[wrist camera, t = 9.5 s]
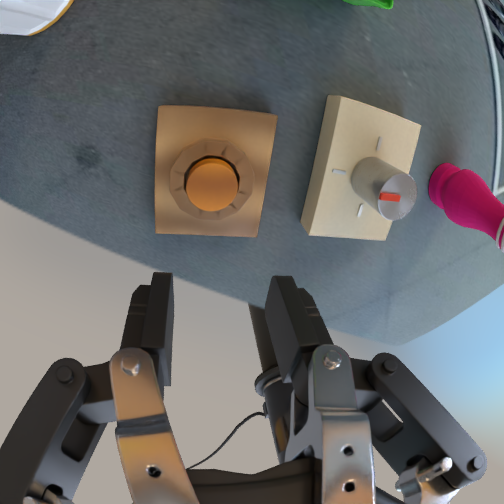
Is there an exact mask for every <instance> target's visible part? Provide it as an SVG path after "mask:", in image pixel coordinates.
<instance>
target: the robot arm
mask: <svg viewBox="0 0 504 504" xmlns="http://www.w3.org/2000/svg"><path fill="white" fill-rule="evenodd" d="M265 317H266V321H267V325H268V329H269V332H270V336H271V340H272V344H273V348H274V351H275V355H276V359H277V363H278V367H279V370H280V375H277V376H275V377H273V378H271V379H269V380H268V381H266V382H265V383H264V385H263V387H262V390H263V395H264V397H265V402H264V404H263V410H264V413H262V412H256V413H253V414H251V415H250V416H248V417H247V418H245V419H244V420H243V421H242V422H241V423H239V424H238V425H237V426H236V427H235V429H234V430H233V431H232V433H231V434H230V435H229V436H228V437H227V439H226V440H225V441H224V442H223V443H222V445H221V446H220V447H219V448H218V449H217V450H216V451H215V452H213V453H212V454H211V455H210V456H208V457H207V458H206V459H204V460H203V461H201V462H199V463H197V464H195V465H193V466H191V467H190V468H193V467H195V466H197V465H199V464H201V463H202V462H204V461H206V460H207V459H209V458H210V457H212V456H213V455H214V454H215V453H217V452H218V451H219V450H220V449H221V448H222V447H223V446H224V444H225V443H226V442H227V441H228V440H229V439H230V438H231V437H232V436H233V434H234V433H235V432H236V430H237V429H238V428H239V427H240V426H241V425H243V424H244V423H245V422H246V421H247V420H249V419H250V418H251V417H254V416H256V415H262V416H265V418H269V420H270V425H271V429H272V434H273V438H274V443H275V447H276V452H277V456H278V460H279V465H277V466H275V467H272V468H270V469H267V470H264V471H262V472H259V473H256V474H243V473H235V472H228V471H222V470H217V469H190V468H187V469H185V466H184V464H183V461H182V458H181V455H180V453H179V450H178V447H177V444H176V442H175V439H174V435H173V432H172V429H171V426H170V423H169V420H168V416H167V413H166V410H165V406H164V403H163V400H164V386H171V361H172V338H173V323H174V293H173V274H172V273H164V272H154V273H153V277H152V281H151V285H140V286H139V287H138V288H137V289H136V290H135V291H134V293H133V294H132V298H131V302H130V306H129V310H128V315H127V319H126V324H125V328H124V333H123V337H122V342H121V347H120V350H119V351H117V352H116V353H115V354H114V355H113V356H112V358H111V360H110V361H108V362H105V363H103V364H98V365H93V366H87V367H83V366H82V364H81V363H80V362H78V361H77V360H75V359H72V358H63V359H60V360H58V361H56V362H54V363H53V364H52V365H51V367H50V368H49V369H48V371H47V372H46V374H45V375H44V377H43V378H42V380H41V381H40V383H39V384H38V386H37V387H36V389H35V390H34V392H33V394H32V395H31V397H30V398H29V400H28V401H27V403H26V405H25V406H24V408H23V409H22V411H21V413H20V414H19V416H18V418H17V419H16V421H15V423H14V424H13V426H12V428H11V430H10V432H9V433H8V435H7V437H6V439H5V441H4V443H3V444H2V446H1V448H0V504H74V503H73V502H72V499H73V496H74V494H75V492H76V489H77V487H78V485H79V483H80V480H81V478H82V476H83V473H84V471H85V469H86V467H87V465H88V463H89V461H90V458H91V456H92V454H93V452H94V450H95V448H96V446H97V444H98V442H99V440H100V437H101V435H102V433H103V431H104V429H105V427H106V425H107V423H108V422H113V421H117V427H116V429H115V436H116V442H117V446H118V451H119V455H120V459H121V463H122V466H123V470H124V474H125V478H126V481H127V484H128V488H129V490H130V494H131V497H132V500H133V504H449V502H450V501H451V500H452V498H453V497H454V496H455V494H456V493H457V491H458V490H459V489H460V488H462V487H464V486H467V485H468V484H471V483H473V482H475V481H477V480H479V479H480V478H481V477H482V476H483V475H484V473H485V471H486V467H487V459H486V456H485V454H484V452H483V451H482V450H481V448H480V447H479V446H478V445H477V444H476V443H475V442H474V440H473V439H472V438H471V437H470V436H469V435H468V433H467V432H466V431H465V430H464V429H463V428H462V427H461V426H460V424H459V423H458V422H457V421H456V420H455V419H454V418H453V417H452V416H451V414H450V413H449V412H448V411H447V410H446V409H445V408H444V407H443V406H442V405H441V404H440V402H438V400H437V399H436V398H435V397H434V396H433V395H432V394H431V393H430V392H429V390H428V389H427V388H426V387H425V386H424V385H423V384H422V383H421V382H420V381H419V380H418V379H417V378H416V377H415V376H414V374H413V373H412V372H411V371H410V370H409V369H408V368H407V367H406V366H405V365H404V364H403V363H402V362H401V361H400V360H399V359H398V358H397V357H396V356H394V355H392V354H389V353H380V354H377V355H376V356H375V357H374V358H373V359H372V361H367V360H360V359H354V358H350V357H349V355H348V354H347V353H346V352H345V350H343V349H342V348H340V347H338V346H336V345H334V344H333V342H332V340H331V338H330V335H329V333H328V330H327V328H326V326H325V324H324V322H323V319H322V317H321V316H320V313H319V311H318V308H316V304H315V302H314V300H313V298H312V296H311V295H310V294H309V293H308V292H307V291H306V290H305V289H304V288H297V286H296V284H295V282H294V279H293V277H292V276H273V277H272V279H271V283H270V287H269V291H268V295H267V299H266V304H265ZM383 399H384V400H385V401H386V402H387V403H388V405H389V406H390V407H391V408H392V409H393V410H394V412H395V413H396V414H397V415H398V416H399V417H400V418H401V420H402V421H403V423H402V422H400V421H399V420H398V419H397V418H396V417H395V416H394V415H393V413H392V412H391V411H390V410H389V409H388V408H387V407H386V405H385V404H384V403H383V402H382V400H383ZM372 445H373V446H374V447H375V448H376V450H377V451H378V452H379V453H380V454H381V456H382V457H383V458H384V459H385V460H386V461H387V463H388V464H389V465H390V466H391V467H392V469H393V470H394V471H395V472H396V473H397V474H398V476H399V480H398V481H397V482H396V484H395V488H396V490H397V491H401V492H402V493H403V496H404V502H403V501H401V500H399V499H397V498H395V497H393V496H392V495H390V494H388V493H386V492H385V491H383V490H381V489H380V488H378V487H376V486H375V472H374V461H373V449H372Z"/></svg>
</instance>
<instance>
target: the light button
mask: <svg viewBox="0 0 504 504" xmlns="http://www.w3.org/2000/svg"><path fill="white" fill-rule="evenodd" d="M237 190H238V183H237V179H236V176H235V173H234V171H233V169H232V167H231V166H230V165H229V164H228V163H227V162H225V161H223V160H221V159H217V158H207V159H204V160H201V161H199V162H198V163H196V164H195V165H194V166H193V167H192V169H191V170H190V172H189V174H188V178H187V184H186V192H187V196H188V198H189V200H190V201H191V202H192V204H194V205H195V206H196V207H197V208H199V209H202V210H205V211H218V210H221V209H223V208H225V207H227V206H228V205H229V204H231V202H232V201H233V200H234V199H235V197H236V194H237Z"/></svg>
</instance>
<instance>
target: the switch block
mask: <svg viewBox="0 0 504 504" xmlns="http://www.w3.org/2000/svg"><path fill="white" fill-rule="evenodd" d="M277 119H278V116H277V115H274V114H271V113H265V112H257V111H250V110H241V109H232V108H221V107H207V106H189V105H161V106H159V107H158V117H157V132H156V153H155V233H159V234H187V235H212V236H235V237H257V235H258V229H259V223H260V217H261V212H262V206H263V200H264V194H265V188H266V183H267V177H268V171H269V165H270V159H271V154H272V148H273V142H274V136H275V130H276V124H277ZM207 158H217V159H221V160H223V161H225V162H227V163H228V164H229V165H230V166H231V167H232V169H233V171H234V173H235V176H236V179H237V183H238V190H237V194H236V197H235V199H234V200H233V201H232V202H231V204H229V205H228V206H227V207H225V208H223V209H221V210H218V211H205V210H202V209H199V208H197V207H196V206H195V205H194V204H192V202H191V201H190V200H189V198H188V196H187V192H186V184H187V178H188V174H189V172H190V170H191V169H192V167H193V166H194V165H195V164H196V163H198V162H199V161H201V160H204V159H207Z"/></svg>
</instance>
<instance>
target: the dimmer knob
mask: <svg viewBox="0 0 504 504" xmlns="http://www.w3.org/2000/svg"><path fill="white" fill-rule="evenodd" d="M351 184H352V188H353V190H354V192H355V193H356V194H357V195H358V196H359V197H360V198H362V199H363V200H364V201H365V202H366V203H368V204H369V205H370V206H371V207H372V208H373V209H375V210H376V211H377V212H378V213H379V214H380V215H381V216H383V217H384V218H385V219H387V220H398V219H401V218H403V217H404V216H406V215H407V214H408V213H409V212H410V210H411V209H412V207H413V206H414V204H415V201H416V197H417V186H416V183H415V181H414V179H413V178H412V177H411V176H410V175H408V174H407V173H405V172H403V171H401V170H400V169H398V168H396V167H394V166H392V165H391V164H389V163H387V162H385V161H383V160H381V159H379V158H377V157H367V158H364V159H363V160H361V161H360V162H359V163H358V164H357V165H356V166H355V168H354V170H353V172H352V177H351Z"/></svg>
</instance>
